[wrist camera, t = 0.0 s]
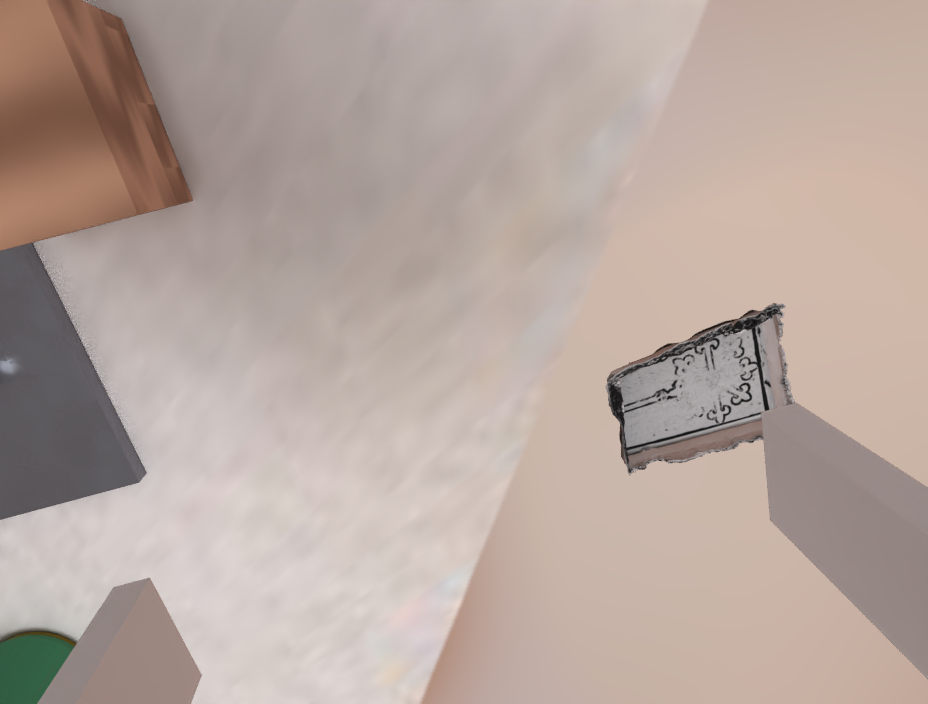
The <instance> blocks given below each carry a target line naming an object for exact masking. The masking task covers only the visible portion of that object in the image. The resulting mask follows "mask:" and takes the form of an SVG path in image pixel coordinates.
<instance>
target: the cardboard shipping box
mask: <svg viewBox="0 0 928 704" xmlns="http://www.w3.org/2000/svg"><path fill="white" fill-rule="evenodd" d="M190 201H193V199H192V197H191V194H190V192H189V189H188V187H187V184H186V182H185V179H184V176H183V174H182V171H181V169H180V166H179V164H178V161H177V159H176V156H175V154H174V151H173V149H172V146H171V143H170V141H169V138H168V136H167V133H166V131H165V128H164V126H163V123H162V121H161V118H160V115H159V113H158V110H157V108H156V105H155V103H154V100H153V98H152V95H151V93H150V90H149V88H148V85H147V82H146V80H145V77H144V75H143V72H142V70H141V67H140V65H139V62H138V60H137V57H136V55H135V52H134V49H133V47H132V44H131V42H130V39H129V37H128V34H127V32H126V29H125V27H124V24H123V21H122V19H120V18H118V17H116V16H114V15H112V14H109V13H107V12H105V11H103V10H101V9H99V8H97V7H94V6H92V5H90V4H88V3H86V2H84V1H81V0H0V251H1V250H5V249H9V248H13V247H17V246H21V245H25V244H28V243H32V242H36V241H40V240H44V239H48V238H52V237H56V236H60V235H64V234H68V233H71V232H75V231H79V230H83V229H87V228H91V227H94V226H98V225H102V224H106V223H110V222H113V221H117V220H121V219H125V218H129V217H132V216H136V215H140V214H144V213H148V212H151V211H155V210H159V209H163V208H167V207H171V206H174V205H178V204H182V203H186V202H190Z"/></svg>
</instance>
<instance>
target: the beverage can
mask: <svg viewBox="0 0 928 704" xmlns="http://www.w3.org/2000/svg"><path fill="white" fill-rule="evenodd" d="M75 645H76V643H74V642H73V641H71V640H69V639H67V638H65V637H63V636H60V635H57V634H53V633H48V632H27V633H22V634H18V635H16V636H13V637H11V638H9V639H8V640H6V641H4V642H2V643H0V704H37V703H38V702H39V700H40V699H41V697H42V696H43V694H44V693H45V691H46V690H47V688H48V687H49V685H50V684H51V682H52V681H53V679H54V677H55V676H56V674H57V673H58V671H59V670H60V668H61V667H62V665H63V664H64V662H65V661H66V659H67V658H68V656H69V655H70V653H71V652H72V650H73V649H74V647H75Z"/></svg>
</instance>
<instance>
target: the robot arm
mask: <svg viewBox="0 0 928 704" xmlns="http://www.w3.org/2000/svg"><path fill="white" fill-rule="evenodd" d="M761 415H762V427H763V439H764V452H765V464H766V475H767V488H768V501H769V512H770V520H771V521H772V522H773V523H774V524H775V525H776V526H777V528H779V530H780V531H781V532H782V533H783V534H784V535H785V536H786V537H788V539H789V540H790V541H791V542H792V543H794V545H795V546H796V547H797V548H798V549H799V550H800V551H801V552H802V553H803V554H804V555H805V556H806V557H807V558H808V559H809V560H810V561H811V562H812V563H813V564H814V565H815V566H816V567H817V568H818V569H819V570H820V571H821V572H822V573H823V574H824V575H825V576H826V577H827V578H828V579H829V580H830V581H831V582H832V583H833V584H834V585H835V586H836V587H837V588H838V589H839V590H840V591H841V592H842V593H843V594H844V595H845V596H846V597H847V598H848V599H849V600H850V601H851V602H852V603H853V604H854V605H855V606H856V607H857V608H858V609H859V610H860V611H861V612H862V613H863V614H864V615H865V616H866V617H867V618H868V619H869V620H870V621H871V622H872V623H873V624H874V625H875V626H876V627H877V628H878V629H879V630H880V631H881V632H882V633H883V634H884V635H885V637H886V638H888V640H889V641H890V642H891V643H892V644H893V645H894V646H895V647H896V648H897V649H898V650H899V651H901V652H902V654H904V656H905V657H906V658H907V659H908V660H909V661H910V662H911V663H912V664H913V665H914V666H915V667H916V668H917V669H918V670H919V671H920V672H921V673H922V674H923V675H924V676H925V677H926V678H927V679H928V487H926V486H925V485H923V484H922V483H920V482H919V481H917V480H915V479H914V478H912V477H911V476H909V475H908V474H906V473H904V472H903V471H901V470H900V469H899V468H897V467H895V466H894V465H892V464H891V463H889V462H888V461H886V460H884V459H883V458H881V457H880V456H878V455H877V454H875V453H873V452H872V451H870V450H869V449H867V448H866V447H864V446H863V445H861V444H860V443H858V442H857V441H855V440H853V439H852V438H850V437H848V436H847V435H846V434H844V433H843V432H841V431H840V430H838V429H836V428H835V427H833V426H832V425H830V424H828V423H827V422H826V421H824V420H822V419H821V418H819V417H818V416H816V415H815V414H813V413H812V412H810V411H809V410H807V409H805V408H804V407H802V406H801V405H799V404H798V403H794V404H790V405H786V406H783V407H779V408H775V409H772V410H768V411H764V412H761ZM201 676H202V675H201V673H200V671H199V669H198V667H197V665H196V664H195V662H194V660H193V658H192V656H191V654H190V652H189V650H188V648H187V647H186V645H185V643H184V641H183V639H182V637H181V635H180V633H179V632H178V630H177V628H176V626H175V624H174V622H173V620H172V618H171V616H170V615H169V613H168V611H167V609H166V607H165V605H164V603H163V601H162V600H161V598H160V596H159V594H158V592H157V590H156V588H155V586H154V585H153V583H152V581H151V579H150V578H147V579H143V580H139V581H135V582H132V583H128V584H124V585H121V586H117V587H114V588H113V589H112V591H111V592H110V594H109V595H108V597H107V598H106V600H105V601H104V603H103V604H102V606H101V607H100V609H99V610H98V612H97V614H96V615H95V617H94V618H93V620H92V621H91V623H90V624H89V626H88V627H87V629H86V630H85V632H84V633H83V635H82V636H81V638H80V639H79V641H78V642H77V644H76V645H75V647H74V649H73V650H72V652H71V653H70V655H69V656H68V658H67V659H66V661H65V662H64V664H63V665H62V667H61V668H60V670H59V671H58V673H57V674H56V676H55V677H54V679H53V681H52V682H51V684H50V685H49V687H48V688H47V690H46V691H45V693H44V694H43V696H42V697H41V699H40V700H39V702H38V703H37V704H191V702H192V699H193V697H194V694H195V691H196V689H197V686H198V683H199V681H200V678H201Z"/></svg>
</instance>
